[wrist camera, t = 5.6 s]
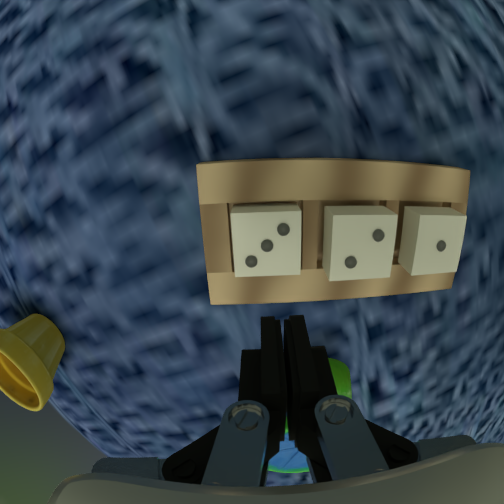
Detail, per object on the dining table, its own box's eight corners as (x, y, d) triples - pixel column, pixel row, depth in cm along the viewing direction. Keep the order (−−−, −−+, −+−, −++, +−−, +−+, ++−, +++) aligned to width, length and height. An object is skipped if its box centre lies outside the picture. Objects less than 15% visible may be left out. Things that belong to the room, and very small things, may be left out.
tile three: (296, 202, 23) (301, 211, 21) (296, 260, 25) (300, 275, 22) (233, 204, 23) (230, 214, 21) (237, 262, 25) (234, 278, 23)
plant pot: (8, 300, 29) (-34, 340, 20) (56, 298, 28) (9, 348, 19) (38, 360, 33) (8, 403, 24) (88, 365, 32) (58, 419, 23)
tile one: (449, 207, 22) (468, 216, 19) (441, 259, 23) (457, 272, 21) (404, 206, 22) (421, 215, 19) (397, 261, 24) (412, 276, 21)
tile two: (383, 205, 22) (399, 215, 19) (377, 263, 24) (390, 278, 21) (324, 206, 22) (333, 216, 19) (322, 265, 24) (329, 282, 21)
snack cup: (294, 424, 36) (300, 486, 26) (225, 403, 34) (218, 470, 24) (370, 350, 30) (399, 419, 21) (294, 317, 29) (309, 395, 19)
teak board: (458, 167, 22) (470, 170, 20) (441, 279, 27) (451, 288, 25) (201, 162, 23) (196, 164, 21) (213, 293, 28) (210, 304, 26)
